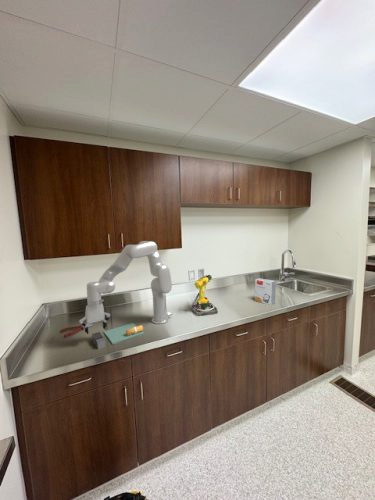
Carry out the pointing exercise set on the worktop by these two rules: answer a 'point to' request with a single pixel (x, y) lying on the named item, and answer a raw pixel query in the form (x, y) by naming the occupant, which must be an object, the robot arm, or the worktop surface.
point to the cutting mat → (124, 333)
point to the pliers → (76, 329)
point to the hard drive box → (265, 291)
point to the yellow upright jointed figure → (203, 298)
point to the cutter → (98, 340)
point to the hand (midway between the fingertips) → (96, 330)
